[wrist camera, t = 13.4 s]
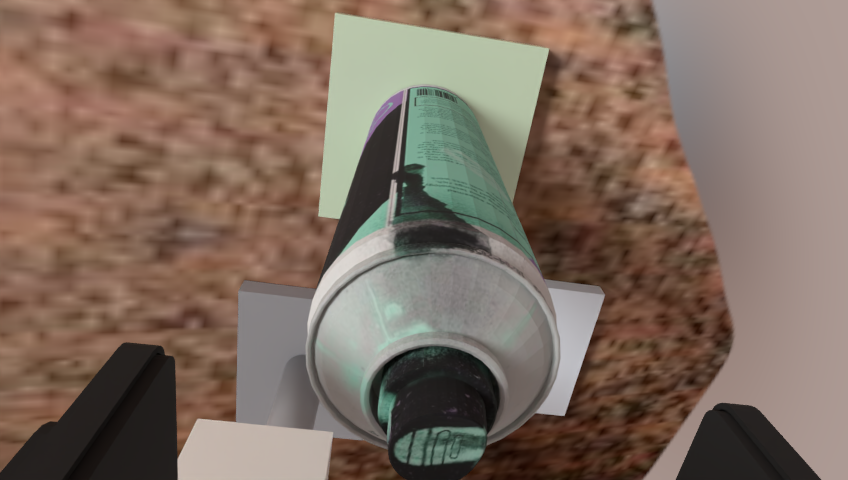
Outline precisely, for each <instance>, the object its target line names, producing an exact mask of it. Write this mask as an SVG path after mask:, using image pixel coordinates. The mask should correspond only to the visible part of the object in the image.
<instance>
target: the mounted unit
mask: <svg viewBox="0 0 848 480" xmlns="http://www.w3.org/2000/svg"><path fill="white" fill-rule="evenodd" d="M315 291H316V289H312V288H304V287H296V286H287V285H279V284H271V283H263V282H254V281H246V280H244V282H243V284H242V285H241V287H240V289H239V293H238V346H237V400H236V422H227V421H216V420H206V419H197V421H196V423H195V425H194V427H193V429H192V431H191V433H190V435H189V437H188V439H187V441H186V443H185V445H184V448H183V450H182V452H181V454H180V456H179V458H178V460H177V462H178V480H328V474H329V465H330V456H331V448H332V439H333V437H334V438H344V439H354V440H363V439H362V438H360V437H358V436H356V435H354V434H353V433H351V432H350V431H348V430H347V429H346V428H345V427H343V426H342V425H341V424H340V423H338V422H337V421H336V420H335V419H334V418H333V417H332V416H331V415H330V413H329V412H328V411H327V410H326V409H325V407H324V406H323V405H322V404H321V402H320V400H319V399H318V397H317V395H316V393H315V391H314V389H313V388H312V386H311V382H310V378H309V375H308V371H307V368H306V341H307V336H308V326H307V323H308V318H309V313H310V309H311V304H312V300H313V297H314V294H315Z"/></svg>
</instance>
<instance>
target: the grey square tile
mask: <svg viewBox="0 0 848 480" xmlns="http://www.w3.org/2000/svg"><path fill="white" fill-rule="evenodd" d="M544 280H545V283H546V285H547V287H548V290H549V292H550V295H551V298H552V302H553V305H554V309H555V312H556V322H557V329H558V333H559V336H560V357H561V359H560V363H559V368H558V373H557V377H556V380H555V382H554V384H553V386H552V389H551V391H550V393H549V395H548V397H547V398H546V400H545V401H544V402H543V404H542V405H541V406H540V408H539V409H538V410H537V412H536V413H540V414H550V415H559V416H565V413H566V410H567V407H568V404H569V401H570V398H571V395H572V392H573V389H574V386H575V383H576V380H577V377H578V374H579V371H580V368H581V365H582V362H583V359H584V356H585V353H586V350H587V347H588V345H589V342H590V339H591V336H592V333H593V330H594V327H595V324H596V321H597V318H598V315H599V312H600V309H601V306H602V303H603V300H604V297H605V294H604V292H603V291H602V289H601V288H600V286H593V285H585V284H577V283H570V282H562V281H554V280H546V279H544Z"/></svg>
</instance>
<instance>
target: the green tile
mask: <svg viewBox="0 0 848 480" xmlns="http://www.w3.org/2000/svg"><path fill="white" fill-rule="evenodd" d="M548 52H549V48H547V47H544V46H538V45H532V44H526V43H520V42H514V41H508V40H502V39H496V38H490V37H483V36H477V35H471V34H465V33H459V32H453V31H447V30H441V29H435V28H429V27H423V26H417V25H411V24H405V23H399V22H393V21H387V20H381V19H375V18H369V17H363V16H357V15H351V14H345V13H339V12H337V13H335V21H334V33H333V46H332V58H331V70H330V82H329V94H328V106H327V118H326V130H325V143H324V155H323V167H322V179H321V191H320V203H319V215H318V216H321V217H328V218H336V219H340V216H341V213H342V210H343V207H344V204H345V201H346V198H347V195H348V192H349V189H350V186H351V183H352V180H353V177H354V174H355V171H356V168H357V165H358V162H359V159H360V156H361V153H362V150H363V147H364V144H365V141H366V138H367V135H368V132H369V129H370V126H371V123H372V121H373V119H374V117H375V114H376V112H377V111H378V110H379V108H380V107H381V105H382V104H383V103H384V102H385V101H386V100H387V99H388V98H389V97H390V96H391V95H393V94H394V93H396V92H398V91H399V90H401V89H403V88H406V87H409V86H412V85H420V84H430V85H437V86H440V87H444V88H446V89H448V90H450V91H452V92H454V93H456V94H457V95H458V96H459V97H461V98H462V99H463V100H464V101H465V102H466V103H467V105H468V106H469V107H470V108H471V109H472V111H473V113H474V115H475V117H476V119H477V121H478V123H479V126H480V128H481V130H482V133H483V135H484V138H485V140H486V142H487V145H488V147H489V149H490V152H491V154H492V157H493V159H494V161H495V164H496V166H497V168H498V171H499V173H500V176H501V178H502V180H503V183H504V185H505V188H506V190H507V192H508V195H509V197H510V199H511V202H512V204H513V199H514V195H515V191H516V187H517V182H518V178H519V174H520V170H521V166H522V161H523V157H524V153H525V149H526V145H527V140H528V136H529V132H530V128H531V124H532V119H533V115H534V111H535V107H536V103H537V98H538V94H539V90H540V86H541V81H542V77H543V73H544V69H545V65H546V60H547V56H548Z"/></svg>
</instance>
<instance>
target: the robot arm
mask: <svg viewBox="0 0 848 480" xmlns="http://www.w3.org/2000/svg"><path fill="white" fill-rule="evenodd" d="M0 480H178V462H177V422H176V381H175V360H174V357H172V356H166V355H165V353H164V349H163V347H161V346H157V345H147V344H137V343H127V342H126V343H123V344H122V345H121V346H120V347H119V348H118V349H117V350H116V351H115V352H114V354H113V355H112V356H111V357H110V359H109V360H108V361H107V362H106V363H105V365H104V366H103V367H102V368H101V370H100V371H99V372H98V373H97V374H96V376H95V377H94V378H93V379H92V381H91V382H90V383H89V384H88V385H87V387H86V388H85V389H84V390H83V391H82V393H81V394H80V395H79V396H78V398H77V399H76V400H75V401H74V402H73V404H72V405H71V406H70V407H69V409H68V410H67V411H66V412H65V413H64V415H63V416H62V417H61V418H60V420H59V421H58V422H51V421H50V422H48V423H46V424H44V425H42V426H41V427H40V428H39V429H38V430H37V431H36V432H35V433H34V434H33V435H32V436H31V437H30V439H29V440H28V441H27V442H26V443H25V444H24V446H23V447H22V448H21V449H20V450H19V451H18V453H17V454H16V455H15V456H14V457H13V458H12V460H11V461H10V462H9V463H8V464H7V466H6V467H5V468H4V469H3V470H2V471H1V473H0ZM676 480H821V479H820V478H819V477H818V476H817V474H816V473H815V472H814V471H813V470H812V469H811V468H810V467H809V465H808V464H807V463H806V462H805V461H804V460H803V459H802V458H801V456H800V455H799V454H798V453H797V452H796V451H795V450H794V449H793V448H792V447H791V445H790V444H789V443H788V442H787V441H786V440H785V439H784V438H783V436H782V435H781V434H780V433H779V432H778V431H777V430H776V429H775V427H774V426H773V425H772V424H771V423H770V422H769V421H768V420H767V418H766V417H764V415H763V414H762V413H761V412H760V411H759V410H758V409H757V408H755V407H753V406H749V405H739V404H729V403H720V404H717V405H716V406H714V408H713V410H709V411H708V412H706V414H705V415H704V417H703V419H702V422H701V424H700V426H699V429H698V431H697V433H696V435H695V437H694V440H693V442H692V444H691V446H690V449H689V451H688V453H687V456H686V458H685V460H684V462H683V464H682V467H681V469H680V471H679V474H678V476H677V478H676Z"/></svg>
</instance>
